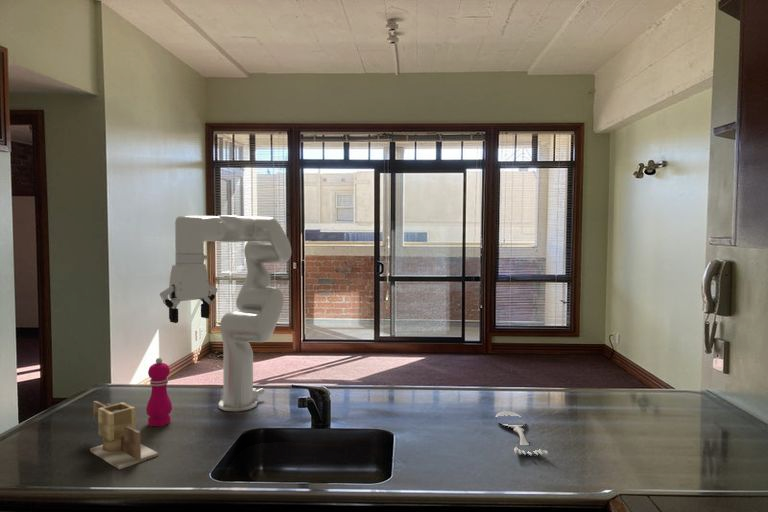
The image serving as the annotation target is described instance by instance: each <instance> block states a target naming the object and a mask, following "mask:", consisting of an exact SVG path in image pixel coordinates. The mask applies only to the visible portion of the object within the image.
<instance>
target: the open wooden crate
mask: <svg viewBox="0 0 768 512" xmlns="http://www.w3.org/2000/svg"><path fill="white" fill-rule="evenodd" d="M92 409H93V410H92V411H93V413H92V415H93V416H92V417H93V419H92V420H95V421H97V425H98V429H97V430H98V435H99V436H100V437H104V438H106V439H108V440H110V441H112V440H115V439H118V438H121V437H124V426H126V425H128V426H130V427H132V428H134V429H136V407H135V406H132V405H130V404H128V403H126V402H119V403H114V404H112V403H106V404H104V403H102V402H101V401H97V400H93V402H92ZM114 410H119V411H115V412H111V411H114Z"/></svg>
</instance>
